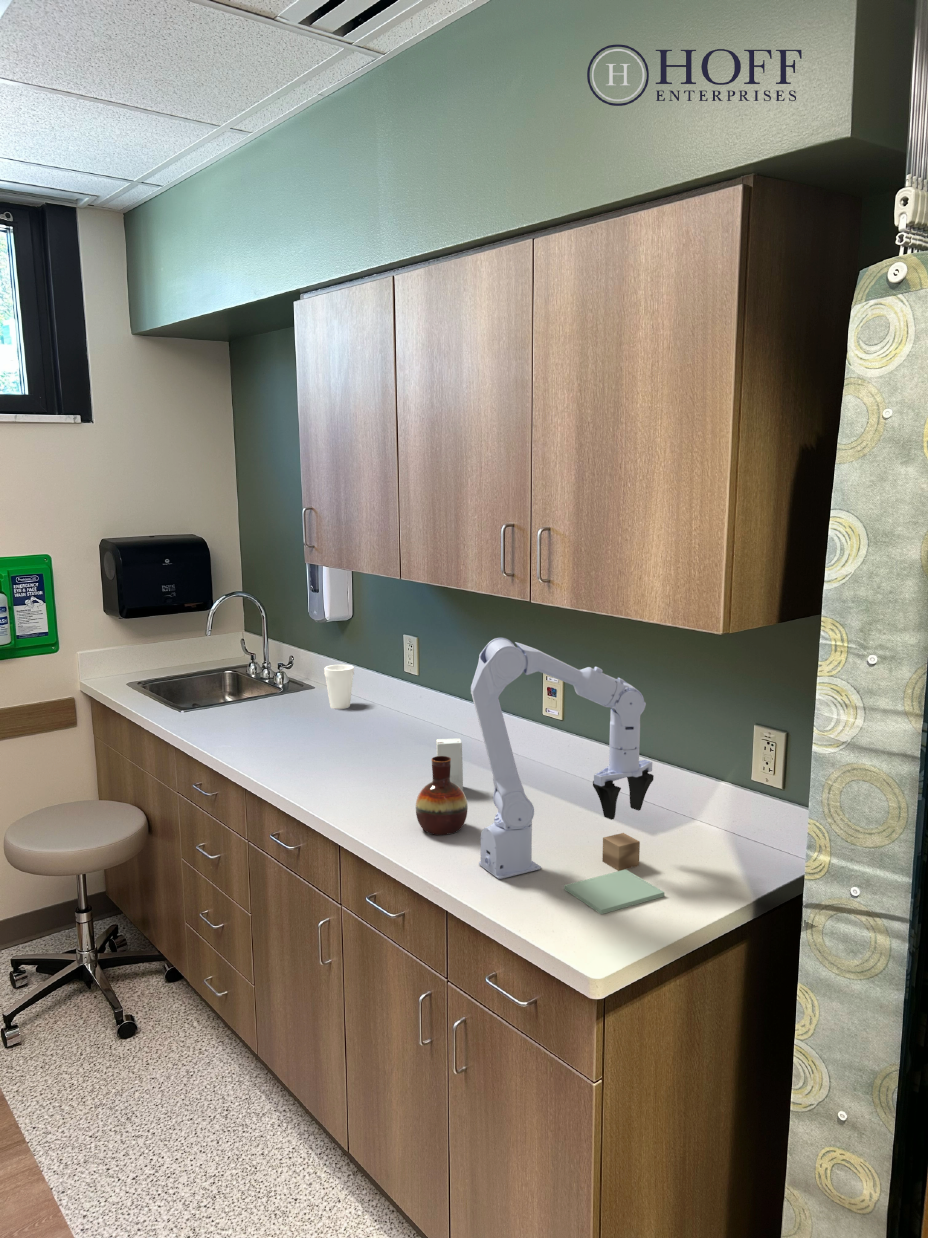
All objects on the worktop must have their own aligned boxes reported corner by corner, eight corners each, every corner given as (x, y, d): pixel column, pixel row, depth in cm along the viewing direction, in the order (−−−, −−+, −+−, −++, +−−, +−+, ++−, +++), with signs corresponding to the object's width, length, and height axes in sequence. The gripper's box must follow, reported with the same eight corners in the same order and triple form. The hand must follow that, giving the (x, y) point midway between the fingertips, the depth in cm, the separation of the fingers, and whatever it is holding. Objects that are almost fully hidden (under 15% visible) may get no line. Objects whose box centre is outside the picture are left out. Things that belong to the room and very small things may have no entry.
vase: (406, 833, 194) (405, 763, 192) (430, 815, 204) (429, 748, 202) (454, 841, 190) (454, 769, 187) (475, 823, 200) (475, 754, 197)
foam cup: (323, 704, 304) (322, 665, 302) (351, 702, 306) (350, 663, 304) (328, 711, 295) (327, 671, 293) (356, 708, 297) (355, 669, 295)
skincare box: (461, 785, 224) (461, 737, 222) (463, 791, 220) (463, 742, 218) (436, 786, 223) (435, 738, 221) (437, 792, 219) (437, 743, 217)
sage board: (601, 914, 158) (601, 910, 158) (564, 889, 168) (564, 885, 168) (664, 896, 165) (664, 892, 165) (625, 873, 174) (625, 869, 174)
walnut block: (618, 871, 176) (619, 846, 175) (602, 862, 180) (602, 837, 179) (639, 866, 178) (639, 841, 177) (622, 857, 182) (623, 832, 181)
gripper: (614, 758, 170) (612, 828, 172) (665, 743, 179) (663, 810, 181) (586, 749, 175) (584, 817, 177) (637, 735, 184) (635, 801, 186)
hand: (622, 813), depth 179 cm, fingers open, 7 cm apart
